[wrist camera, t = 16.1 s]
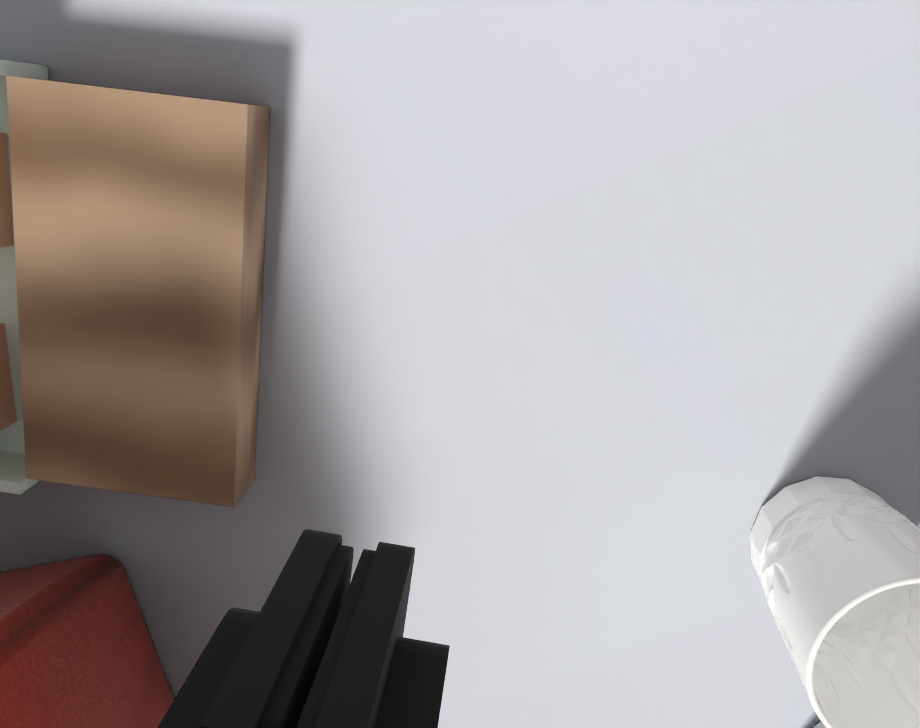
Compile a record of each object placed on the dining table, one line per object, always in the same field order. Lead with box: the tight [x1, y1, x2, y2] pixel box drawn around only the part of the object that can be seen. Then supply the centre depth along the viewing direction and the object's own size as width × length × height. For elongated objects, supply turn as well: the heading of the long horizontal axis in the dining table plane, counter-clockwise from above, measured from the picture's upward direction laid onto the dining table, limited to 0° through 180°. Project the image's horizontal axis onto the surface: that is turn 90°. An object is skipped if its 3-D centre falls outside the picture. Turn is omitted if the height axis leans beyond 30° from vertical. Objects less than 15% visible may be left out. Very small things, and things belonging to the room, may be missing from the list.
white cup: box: [750, 476, 920, 728], centre depth 34 cm, size 8×8×10 cm
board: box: [6, 76, 270, 507], centre depth 36 cm, size 18×10×3 cm, turn 174°
